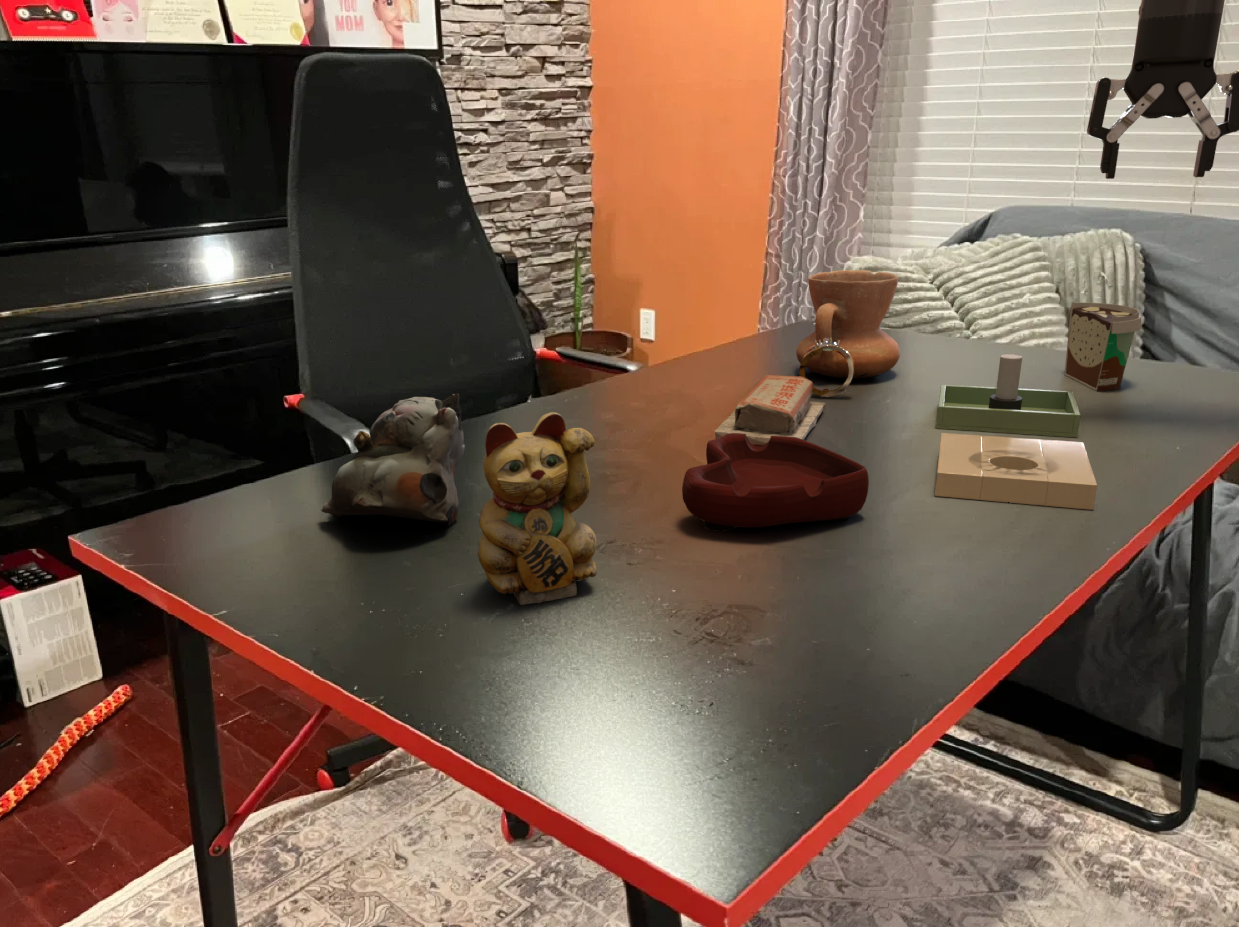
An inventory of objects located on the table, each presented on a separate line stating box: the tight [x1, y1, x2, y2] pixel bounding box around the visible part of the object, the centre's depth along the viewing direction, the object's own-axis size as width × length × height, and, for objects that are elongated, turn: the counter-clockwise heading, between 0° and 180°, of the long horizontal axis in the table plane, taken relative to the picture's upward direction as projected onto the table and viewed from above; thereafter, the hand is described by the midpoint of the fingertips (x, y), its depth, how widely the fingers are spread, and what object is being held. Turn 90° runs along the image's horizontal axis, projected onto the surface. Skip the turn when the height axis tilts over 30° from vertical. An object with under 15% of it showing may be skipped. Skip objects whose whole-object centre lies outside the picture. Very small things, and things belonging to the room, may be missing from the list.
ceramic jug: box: [795, 269, 901, 379], centre depth 145 cm, size 18×14×14 cm
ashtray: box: [681, 433, 870, 532], centre depth 97 cm, size 18×16×5 cm
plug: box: [989, 353, 1023, 410], centre depth 122 cm, size 4×4×7 cm
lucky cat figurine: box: [319, 393, 466, 526], centre depth 98 cm, size 15×12×14 cm
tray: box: [935, 384, 1082, 438], centre depth 123 cm, size 15×11×3 cm
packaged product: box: [714, 374, 826, 446], centre depth 123 cm, size 18×5×10 cm
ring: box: [799, 337, 855, 398], centre depth 135 cm, size 7×3×8 cm, turn 66°
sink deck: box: [934, 432, 1098, 511], centre depth 103 cm, size 14×14×2 cm
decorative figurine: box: [477, 411, 598, 605], centre depth 81 cm, size 10×8×15 cm
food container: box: [1063, 301, 1142, 392], centre depth 137 cm, size 12×6×10 cm, turn 179°
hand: (1153, 177), depth 111 cm, fingers open, 8 cm apart
